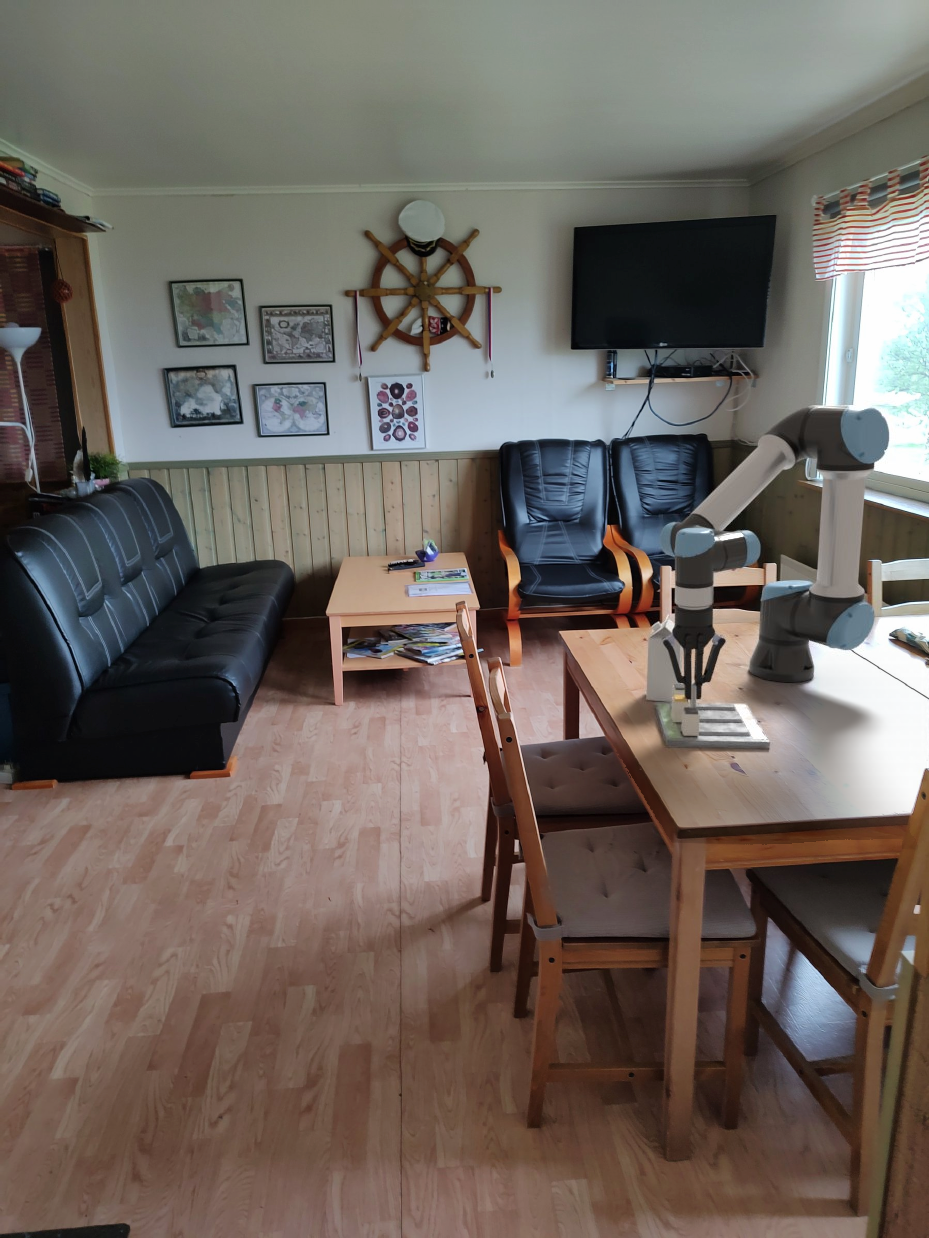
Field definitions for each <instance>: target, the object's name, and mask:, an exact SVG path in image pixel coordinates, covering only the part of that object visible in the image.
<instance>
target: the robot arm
mask: <svg viewBox="0 0 929 1238" xmlns="http://www.w3.org/2000/svg"><path fill="white" fill-rule="evenodd" d="M889 443H890V429H889V425H888V422H887V420H886V418H885V416H884V415H882V413H881V412H880V410H878V409H876V408H875V407H871V406H866V405H859V404H852V405H850V404H849V405H843V404H842V405H824V404H822V405H821V404H815V405H808V406H805V407H802V408H800V409H797V410H796V411H794V412H792V413H790V414H788V415H787V416H785V417H783V418H782V419H781V420H780V421H778V422H777V423H775V424H774V425H773V426H772V427H771V428H769V429H768V431H766V432H765V433H764V434H763V435H762V436H761V437H760V438H759V439H758V442H757V447H756V448H755V449H754V450H753V451H752V452H751V453H750V454H749V455H748V456H747V457H746V458H745V459H744V460H743V461H742V462H741V463H740V464H739V465H738V466H737V467H736V468H735V469H734V470H733V471H732V472H731V473H730V474H729V475H728V476H727V477H726V478H725V479H724V480H723V481H722V482H721V483H720V484H719V485H717V487H716V488H715V489H714V490H712V492H711V493H710V494H709V495H708V496H707V497H706V498H705V499H704V500H703V501H702V502H701V503H700V504H699V505H698V506H697V507H696V508H695V509H694V510H693V511H692V512H691V513H690V514H689V516H687V517H686V518H685V519H684V520H683V521H682V522H680V521H677V522H676V521H673V522H669V523H668V524H666V525H664V526H663V528H662V530H661V532H660V534H659V539H658V540H659V546H660V548H661V550H662V552H663V553H664V554H666V555H668V556H670V557H673V558H674V583H675V584H674V586H675V587H674V604H676V605H675V607H674V624H675V626H674V628H673V630H672V634H671V635H669V636H668V637H663V638H662V642H663V644H664V646H665V647H666V648H667V650H668V653H669V657H670V660H671V663H672V667H673V670H674V674H675V677H676V680H677V682H678V683H681V684H684V685H685V687H684V690H685V691H684V692H685V693H684V695H685V697H686V699H687V700H688V701H689V703H690V706H689V708H696V703H697V700H701V699H702V687H703V684H705V683H711V681H712V679H713V675H714V671H715V668H716V665H717V662H718V658H719V655H720V652H721V650H722V648H723V647H724V645H725V644H726V642H727V641H726V639H725V637H724V635H721V634H720V635H719V634H718V633H716V629H715V627H714V626H713V625H714V622H713V621H714V607H713V605H712V604H713V603H714V580H715V576H714V575H715V574H716V573H721V572H725V571H730V570H736V569H743V568H745V567H748V566H751V565H753V564H755V563H756V562H757V561H758V559H759V558H760V555H761V543H760V540H759V538H758V536H757V535H756V534H755V533H754V532H753V531H750V530H745V529H744V530H740V529H738V530H737V529H736V530H735V531H725V529H726V527H727V526H728V525H730V524H731V522H733V520H735V519H736V518H737V517H738V515H740V514H741V512H742V511H743V510H745V509H746V507H747V506H749V504H751V502H753V500H754V499H755V498H756V497H758V496H759V494H761V492H762V491H764V490H765V488H766V487H767V486H768V485H769V484H770V483H771V482H772V481H773V480H774V479H775V478H776V477H777V476H778V475H779V474H780V473H781V472H782V471H783V470H790V469H791V468H793V466H794V465H796V464H797V463H798V462H800V461H802V460H805V459H812V460H813V459H815V460H816V463H815V464H816V466H815V469H816V471H817V472H818V473H819V474H820V475H821V477H822V487H821V489H822V490H821V491H822V492H821V505H820V506H821V510H820V520H819V522H820V523H819V538H818V539H819V540H818V553H817V554H818V555H817V556H818V557H817V573H816V582H812V581H809V580H796V579H795V580H794V579H793V580H779V581H778V580H777V581H773V582H772V581H771V582H768V583H766V584H765V585H764V586H763V588H762V591H761V593H762V594H761V598H760V612H759V628H758V629H759V631H758V640H757V643H756V646H755V649H754V651H753V653H752V655H751V656H750V659H749V668H748V670H749V673H750V674H752V675H753V676H755V677H758V678H760V679H763V680H767V681H772V682H781V683H798V682H806V681H809V680H811V679H813V677H814V674H815V664H814V661H813V657H812V656H813V655H812V653H811V648H810V642H813V643H816V644H819V645H822V646H825V647H828V648H830V649H838V650H842V651H852V650H854V649H855V648H858V647H859V646H860V645H862V644H863V643H864V641H865V640H866V639H867V638H868V636H869V635H870V633H871V631H872V629H873V626H874V623H875V619H876V618H875V617H876V616H875V615H876V614H875V610H874V608H873V606H872V605H871V603H868V602H867V601H865V593H866V592H865V589H864V587H862V585H860V584H859V572H860V557H861V547H862V546H861V545H862V544H861V543H862V531H863V530H862V529H863V519H864V518H863V517H864V504H865V492H866V480H867V479H866V478H867V477H868V475H869V474H870V473H872V472H873V471H874V470H875V463H876V462H878V461H880V460H881V459H882V458H883V457H884V455H886V451H887V450H888V447H889ZM675 639H676V640H677V641H678V643H679V644H680V645H681V647H682V648H683V675H682V674H681V671H680V668H679V664H678V661H677V657H676V654H675V651H674V648H673V646H674V645H675V642H674V640H675ZM711 641H712V642H711ZM710 642H711V643H712V644H711V647H710V651H709V654H708V658H707V662H706V665H705V667H704V665H703V663H704V652H705V648H706V647H707V645H708V644H709V643H710ZM692 650H694V672H692V654H693V651H692ZM703 667H704V668H703ZM703 670H704V671H703ZM692 673H693V677H694V679H693V677H692ZM692 679H693V680H694V681H692Z"/></svg>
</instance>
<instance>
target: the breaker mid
mask: <svg viewBox="0 0 929 1238" xmlns="http://www.w3.org/2000/svg"><path fill="white" fill-rule="evenodd" d="M689 703H690V701H689V700H687V699H686V697H685V695H674V697H672V708H671V718H672V721H673V722H682V709H684V707H688V706H689Z"/></svg>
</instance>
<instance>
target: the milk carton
mask: <svg viewBox="0 0 929 1238" xmlns="http://www.w3.org/2000/svg"><path fill="white" fill-rule="evenodd" d="M674 626H675V622H674V621H672V620H671V619H670V614H669V613H668V614H667V615H666V618H665V620H664V621H662V622H660V621H657V622H655V623H654V624H653V625H651V629H652V630H651V633H650V634H649V637H648V644H647V645H648V646H647V666H646V667H647V668H646V669H647V672H646V696H645V697H646V701H652V702H653V701H654V702H672V688H673V686H674V684H682V683H678V682H677V680H676V677H675V674H674V670H673V667H672V663H671V660H670V657H669V653H668V650H667V648H666V647H665V646H664V644H663V642H662V638H663V637H668V636H669V635H671V634H672V630H673V628H674ZM674 642H675V645H674V646H673V648H674V651H675V654H676V657H677V661H678V664H679V668H680V671H681V675H682V672H683V669H682V668H683V654H684V652H683V648H682V647H681V645H680V644H679V643H678V641H677V640H676V639H675V640H674Z"/></svg>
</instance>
